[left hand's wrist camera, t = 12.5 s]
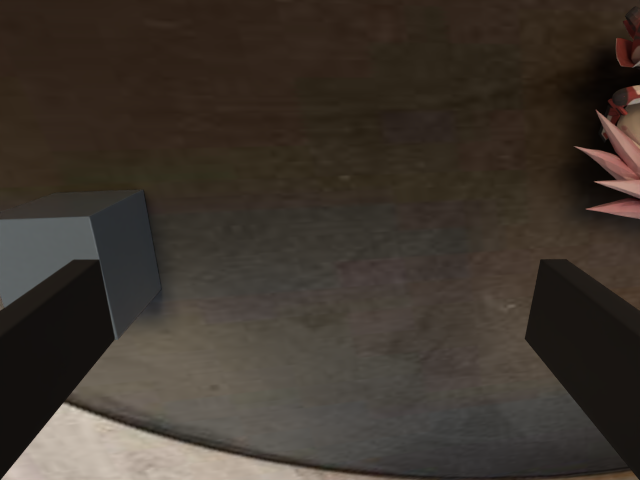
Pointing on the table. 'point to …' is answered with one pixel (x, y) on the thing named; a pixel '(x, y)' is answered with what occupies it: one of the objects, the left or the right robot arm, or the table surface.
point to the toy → (623, 130)
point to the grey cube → (82, 247)
